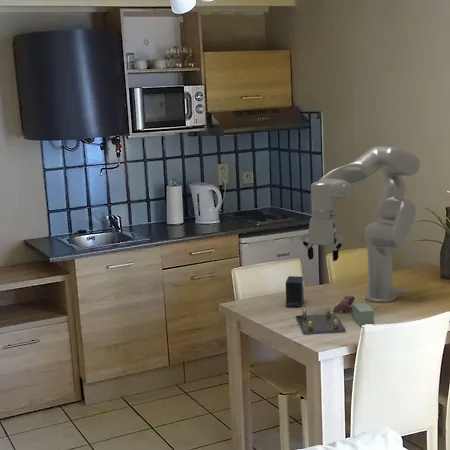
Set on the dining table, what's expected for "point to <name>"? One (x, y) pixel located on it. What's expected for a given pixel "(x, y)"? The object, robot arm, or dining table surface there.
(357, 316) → the green board block
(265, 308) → the dining table surface
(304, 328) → the standoff plate
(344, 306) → the video game controller
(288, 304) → the small box
